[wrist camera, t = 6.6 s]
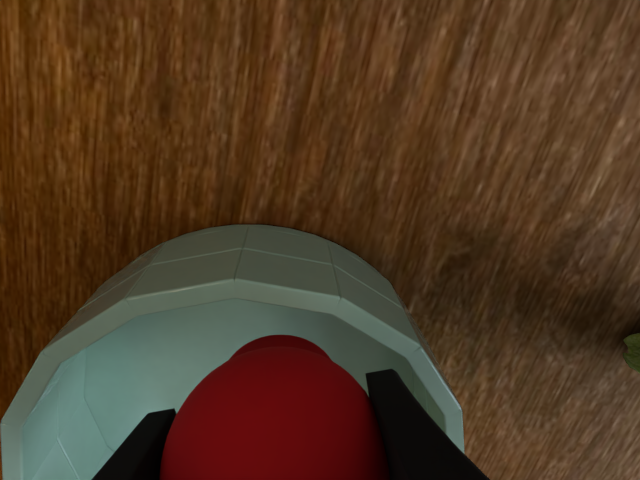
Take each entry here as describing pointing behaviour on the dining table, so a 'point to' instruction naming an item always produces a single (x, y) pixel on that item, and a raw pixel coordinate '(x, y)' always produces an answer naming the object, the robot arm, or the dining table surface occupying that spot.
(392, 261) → the dining table surface
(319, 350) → the strawberry
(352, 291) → the bowl
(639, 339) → the vegetable
